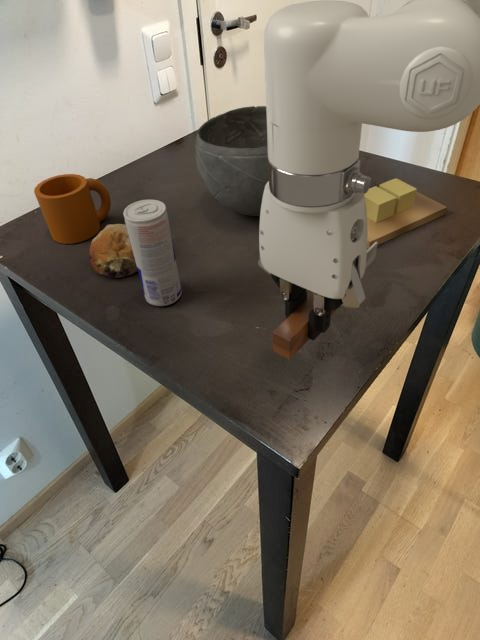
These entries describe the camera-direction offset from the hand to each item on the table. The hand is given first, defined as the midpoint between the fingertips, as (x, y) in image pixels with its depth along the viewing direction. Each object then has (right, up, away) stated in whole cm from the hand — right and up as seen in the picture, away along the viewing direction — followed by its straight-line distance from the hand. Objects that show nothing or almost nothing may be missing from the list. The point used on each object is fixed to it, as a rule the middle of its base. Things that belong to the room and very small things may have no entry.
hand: (307, 326), depth 53 cm
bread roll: (-27, +10, +25) cm, 38 cm away
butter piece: (+16, +19, +29) cm, 38 cm away
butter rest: (+20, +21, +30) cm, 42 cm away
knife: (+4, +3, +3) cm, 6 cm away
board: (+18, +19, +31) cm, 40 cm away
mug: (-36, +17, +33) cm, 52 cm away
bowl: (-4, +23, +36) cm, 43 cm away
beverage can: (-19, +4, +18) cm, 27 cm away
